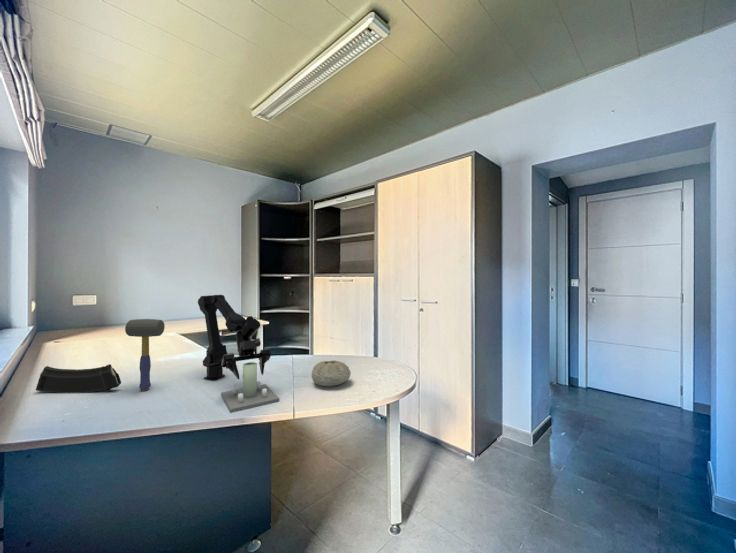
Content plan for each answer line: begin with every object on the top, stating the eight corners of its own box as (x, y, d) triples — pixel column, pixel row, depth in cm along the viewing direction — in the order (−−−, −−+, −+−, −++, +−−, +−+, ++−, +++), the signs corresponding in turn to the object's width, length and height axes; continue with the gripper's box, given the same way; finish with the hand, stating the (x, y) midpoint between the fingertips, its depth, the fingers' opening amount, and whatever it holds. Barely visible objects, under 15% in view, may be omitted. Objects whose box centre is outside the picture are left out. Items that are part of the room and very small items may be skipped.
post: (239, 396, 122) (240, 365, 122) (248, 391, 127) (249, 361, 127) (250, 398, 121) (250, 367, 120) (259, 393, 126) (259, 363, 125)
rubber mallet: (165, 386, 135) (166, 317, 134) (155, 393, 127) (156, 320, 127) (134, 386, 133) (135, 317, 133) (123, 393, 126) (123, 320, 125)
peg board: (220, 395, 126) (221, 385, 126) (265, 386, 137) (265, 377, 137) (230, 412, 112) (230, 401, 111) (279, 401, 122) (279, 390, 122)
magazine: (28, 371, 124) (105, 349, 126) (36, 368, 127) (110, 347, 130) (42, 411, 125) (117, 389, 127) (49, 408, 128) (123, 386, 130)
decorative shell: (319, 375, 153) (319, 355, 153) (354, 378, 149) (354, 358, 149) (305, 388, 135) (305, 366, 135) (344, 392, 132) (344, 369, 132)
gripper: (223, 334, 121) (228, 370, 113) (270, 329, 132) (279, 362, 123) (219, 349, 128) (224, 384, 119) (264, 344, 139) (272, 376, 130)
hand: (250, 376), depth 123 cm, fingers open, 9 cm apart
